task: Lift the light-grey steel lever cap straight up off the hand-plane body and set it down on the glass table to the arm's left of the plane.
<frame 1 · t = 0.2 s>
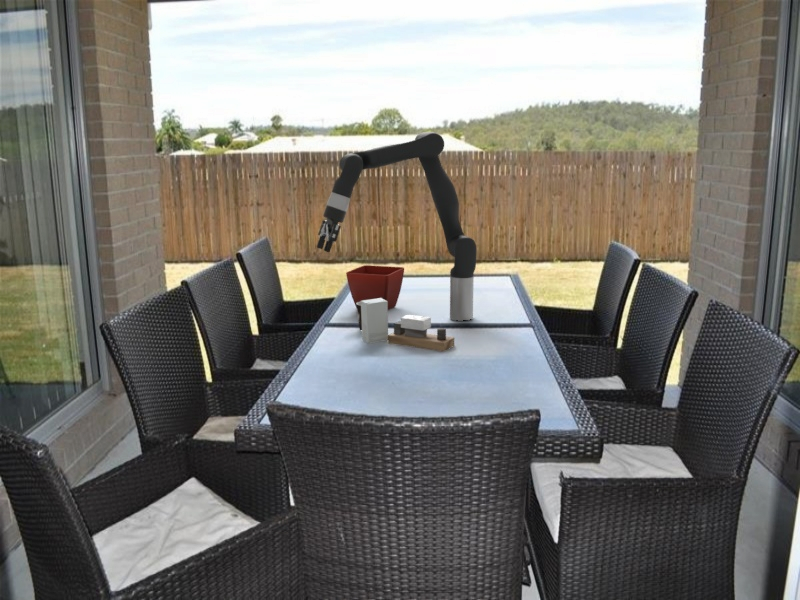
hand: (322, 250, 271), 31 cm above the table, tool tilted 20°, fingers open, 8 cm apart
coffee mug: (368, 328, 285), on the table
lever cap: (415, 327, 262), point 6 cm above the table, touching plane body
skincare box: (374, 341, 267), on the table
plane body: (420, 344, 262), on the table
plant pot: (376, 309, 316), on the table
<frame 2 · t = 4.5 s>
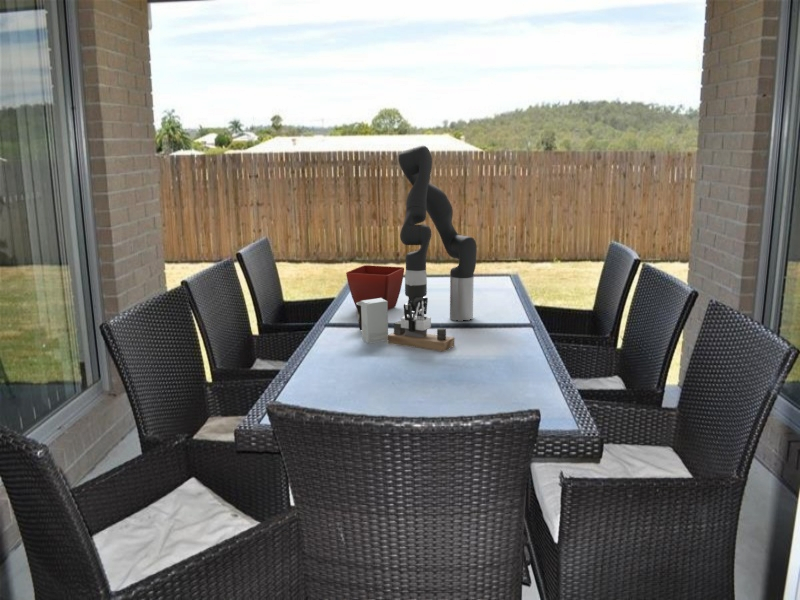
hand: (415, 329, 262), 5 cm above the table, tool pointing down, fingers closed on lever cap, 5 cm apart
lever cap: (415, 327, 262), point 6 cm above the table, touching gripper, plane body
everything else where it was.
when the fingers open (2 cm above the table, at t = 9.7 s): lever cap drops 3 cm, on the table.
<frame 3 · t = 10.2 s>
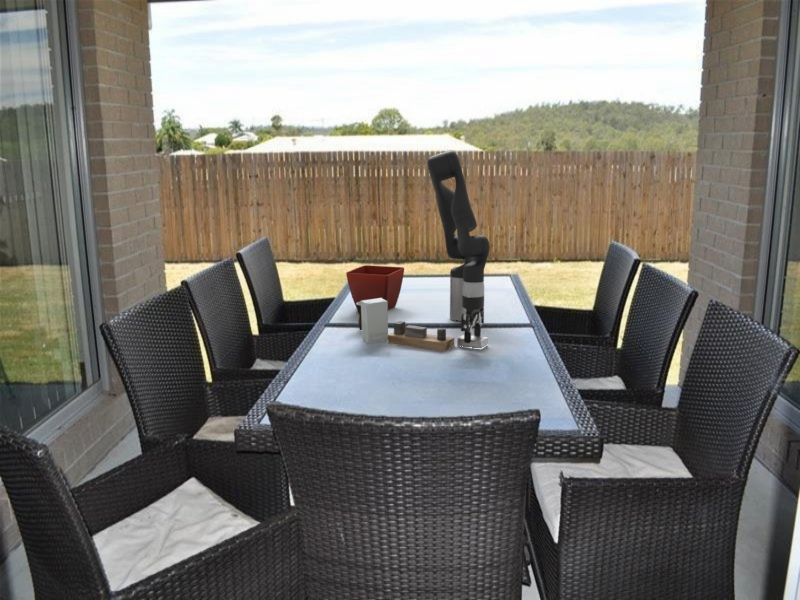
hand: (472, 339, 259), 3 cm above the table, tool pointing down, fingers open, 8 cm apart
lever cap: (472, 347, 259), on the table
everything else where it was.
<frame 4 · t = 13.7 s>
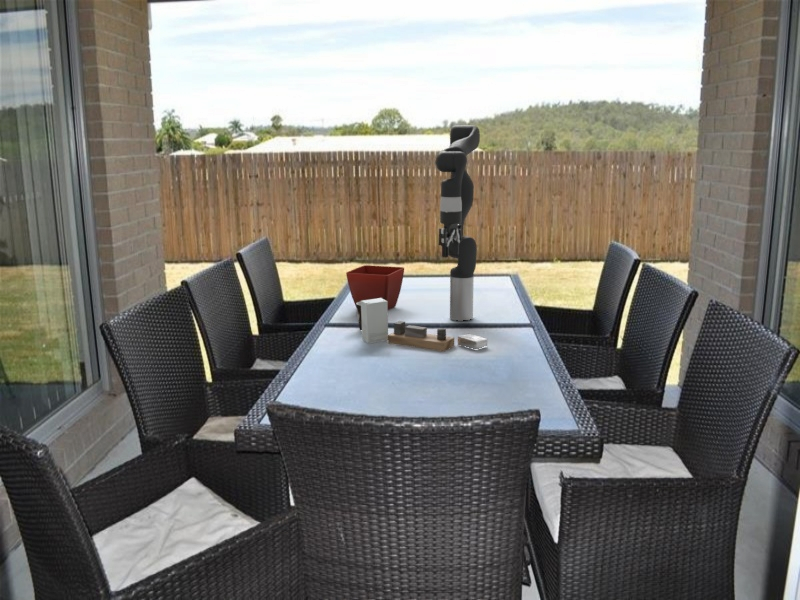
hand: (450, 255, 264), 30 cm above the table, tool pointing down, fingers open, 8 cm apart
at the end: lever cap inside the target area (0.2 cm from its centre), on the table; lever cap touching table; lever cap tilted 0° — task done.
